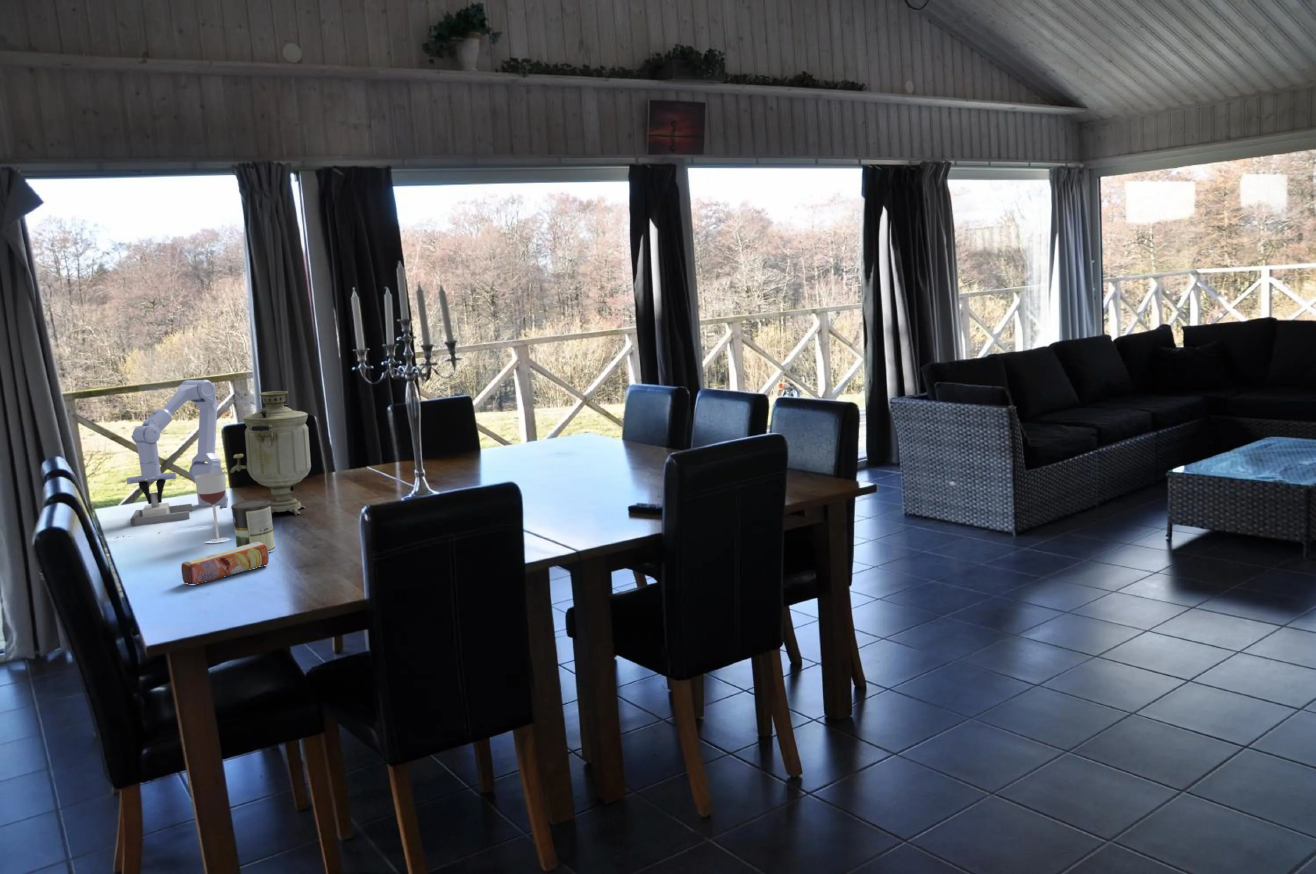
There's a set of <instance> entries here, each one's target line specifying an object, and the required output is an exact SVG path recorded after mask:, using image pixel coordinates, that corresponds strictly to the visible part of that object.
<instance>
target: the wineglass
mask: <svg viewBox="0 0 1316 874" xmlns="http://www.w3.org/2000/svg"><path fill="white" fill-rule="evenodd" d="M226 479H227V478H226V472H224V471H222V472H214V473H206V474H201V475H197V476H195V487H197V489H196V492H197V491H198V494H199V496H200V498H201V499H202V500H203V501H205V502H207V503H210V504H212V506H211V507H212V511H213V512H212V513H213V521H214V529H215V534H216V535H215V538H212V540H211V539H210V540H211V541H212V542H217V541H221V540H227V539H226V538H227V537H220V532H219V527H218V526H219V525H218V524H219V523H218V517H217V509H216V505H215V504H216V503H217V502H218V501H219V500H221V499H222V498H223V497H224V495H225V490H226V491H227V487H226V485H227V483H226ZM216 538H217V539H216ZM211 541H210V542H211Z"/></svg>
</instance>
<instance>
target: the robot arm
mask: <svg viewBox="0 0 1316 874" xmlns="http://www.w3.org/2000/svg"><path fill="white" fill-rule="evenodd" d="M216 391H217V387H216V386H215V384H213V382H211V381H210V380H208V379H203V380H202V379H199V380H195V379H194V380H191V379H187V380H184V381H183V382H182V383H181V384H180V385H178V387H177V391H176V392H175V393H174V395H172V397H171V398H170V399H169V400H168V402H167V403H166V404H165V405H164V406H163V408H157V409H153V410H152V412H151V415H150V416H149V417H147V419H146V420H144V421H143V422H142V424H141V425H138V426H136V427H135V428H134V429H133V431H132V435H131V439H132V441H133V442H134V443H135V447H136V448H137V452H138V454H137V455H138V461H139V469H140V474H141V475H138V476H130V477H126V485H133V484H138V487H139V489H140V490H141V491H142V493H143V495H144V496H145V498H146V500H147V503H148V504H147V505H151V500H150V493H151V492H150V482H155V483H156V484H155V485H156V491H157V492H158V501H159V504H162V502H163V500H162V498H163V492H164V488H165V484H166V482H167V480H177V472H175V471H174V472H163V473H162V471H161V464H160V458H159V450H158V444H157V442H158V441H160V439H161V433H162V431H163V430H165V428H166V427H167V426H169V424H170V423H171V422H172V421H173V420H172V419H173V418H172V417H173V416H172V415H175V413H176V412H177V411H179V409H180V408H181V407H183V405H185V403H187V402H189V401H190V402H192V403H194V404H195V405H196V406H197V407H198V408H199V418H198V419H199V421H198V436H197V437H198V438H197V454H196V455H195V456H194V457H193V458H192V459H191V465H190V467H189V470H188V471H189V472H188V473H189V474H188V475H189V477H190V479H192V480H193V481H194V483H195V476H197V475H201V474H206V473H214V472H223V468H222V464H221V463H222V462H221V459H220V458H219V457H218V456H217V455H216V442H217V441H216V440H217V438H216V437H217V420H218V400H217V397H216ZM195 484H196V483H195ZM195 487H196V486H195ZM227 494H228V493H227V489H226V490H225V495H224V497H223V498H222V499H221V500H219V501H218V502H217V503H216V504H215V506H217V505H219V509H221V508H227V507H228V503H229V496H228V495H227ZM196 495H197V504H198V506H199V507H213V506H212V504H210V503H207V502H205V501H203V500H202V499H201V498H200V496H199V494H198V491H197V487H196Z"/></svg>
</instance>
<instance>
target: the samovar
mask: <svg viewBox="0 0 1316 874" xmlns="http://www.w3.org/2000/svg"><path fill="white" fill-rule="evenodd" d="M288 393H289V391H285V390H277V391H276V390H275V391H264V392H260V393H258V395H259V396H260V397H261V398H262V399H261V400H262V403H263V404H264V406H265V407H262V408H261V409H259V410H258V412H254V413H249V414H246V415H244V416H242V420H243V423H244V424H245V426H246V428H245V430H244V435H245V436H244V438H245V448H246V450H245V451H246V465H242V464H241V458H243V457H244V456H245V455H244V454H243V453H236V454H234V455H233V459H237V463H236V465H234V466H233V467H231V469H230V471H229V473H231V474H232V473H235V471H237V472H241V471H242V470H245V469H246V471H247V472H248V475H249V476H250V477H251V478H252V479H253V481H256V482H257V484H259V485H261V486H264V487H267V488H269V489H270V494H271V495H273V496H274V497H275V499H272V500H270V508H271V515H272V514H273V513H275V512H277V513H280V512H282V513H283V512H286V511H289V512H291V513H294V516H298V515H297V514H300V513H301V511H299V509H302V508H301V507H304V509H306V507H305V506H304V505H302V504H301V502H300V501H299V500H297V499H296V497H292V496H291V495H292V493H294V492H295V490H294V486H295V485H296V484H298V483H300V482H301V481H303V479H304V478H305V477H307V476H308V475H309V473H310V471H311V467H312V463H311V451H310V447H311V446H310V436H309V435H310V434H309V426H308V425H307V424H306V422H307V419H308V414H309V413H307V412H305V411H301V410H299V411H298V410H293V409H292V408H290V407H289V404H288V403H285V402H286V395H287V394H288ZM300 515H301V514H300Z"/></svg>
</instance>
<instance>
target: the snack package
mask: <svg viewBox="0 0 1316 874" xmlns="http://www.w3.org/2000/svg"><path fill="white" fill-rule="evenodd" d="M269 560H270V556H269V554H268V549H267V547H266V546H265V545H264V544H263V543H260V542H254V543H251V544H248V545H244V546H240V547H237V546H236V547H233V548H231V549H227V550H223V551H219V552H217V553H213V554H209V555H205V556H201V557H197V558H195V559H190V560H187V561H183V562H182V563H181V565H180V566H181V568H180V570H181V576H182V577H181V578H182V581H183V582H184V584H185V583H188V584H197V583H202V582H205V581H209V580H212V581H214V580H213V579H216V580H218V579H217V578H220V579H222V578H221V577H224V576H228V577H230V576H229V575H231V576H233V575H232V574H235V575H237V574H236V573H238V574H240V573H239V572H242V573H244V572H243V571H246V570H249V569H253V568H256V567H259V566H264V565H267V564H268V565H269ZM268 565H267V566H268ZM246 572H247V571H246ZM224 578H225V577H224ZM209 582H210V581H209ZM205 583H206V582H205ZM202 584H203V583H202Z"/></svg>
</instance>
